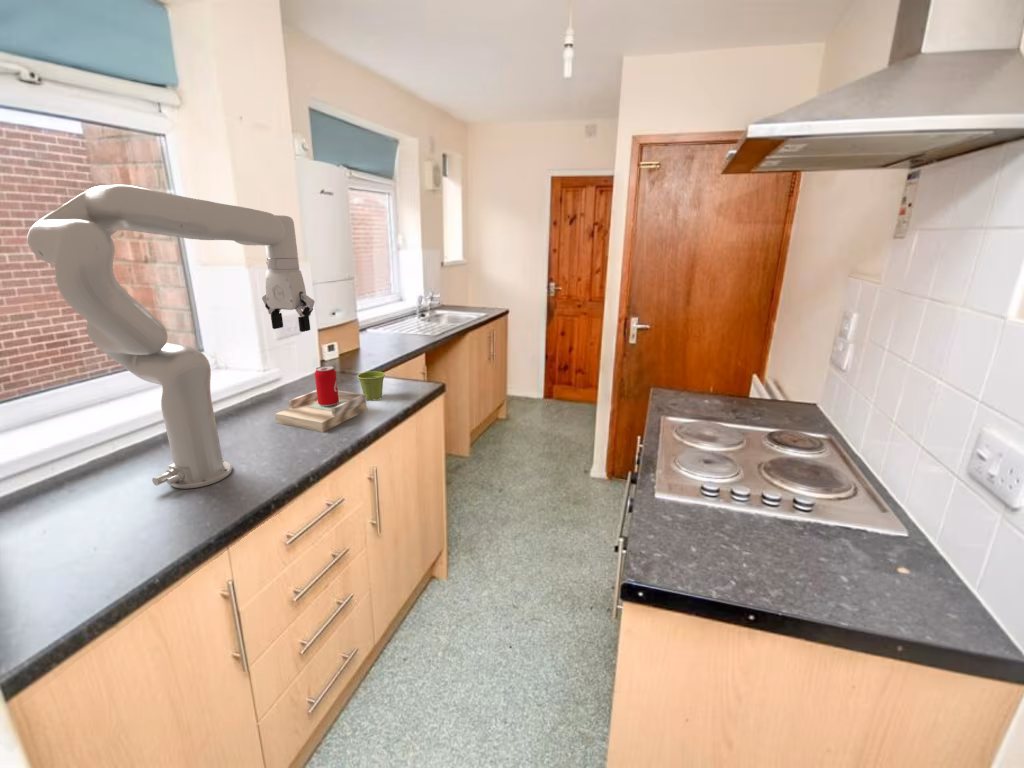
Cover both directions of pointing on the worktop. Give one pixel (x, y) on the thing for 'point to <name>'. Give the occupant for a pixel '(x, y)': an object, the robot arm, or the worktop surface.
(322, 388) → the beverage can
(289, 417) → the dock
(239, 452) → the worktop surface
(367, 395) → the plant pot
